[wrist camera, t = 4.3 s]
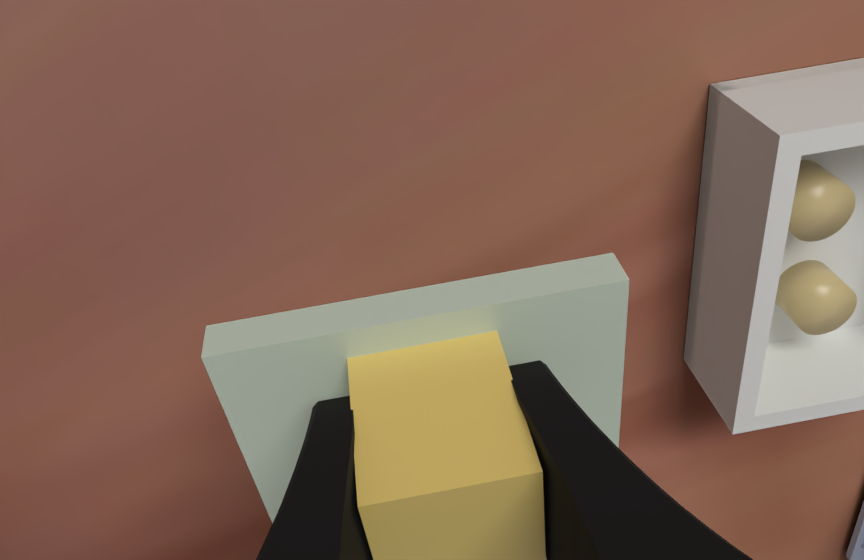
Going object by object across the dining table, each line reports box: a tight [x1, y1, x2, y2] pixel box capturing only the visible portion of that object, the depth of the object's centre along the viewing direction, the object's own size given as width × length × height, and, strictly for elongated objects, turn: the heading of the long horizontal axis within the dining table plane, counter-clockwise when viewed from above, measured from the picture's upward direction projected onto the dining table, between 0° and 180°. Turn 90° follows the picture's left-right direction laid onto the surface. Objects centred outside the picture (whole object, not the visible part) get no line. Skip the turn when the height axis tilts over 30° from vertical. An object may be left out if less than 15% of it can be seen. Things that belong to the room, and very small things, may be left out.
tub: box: [684, 58, 864, 434], centre depth 21 cm, size 10×7×4 cm
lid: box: [201, 253, 629, 560], centre depth 15 cm, size 10×7×5 cm
